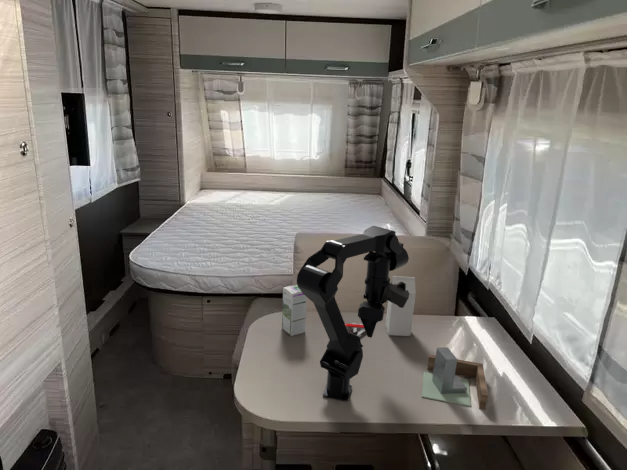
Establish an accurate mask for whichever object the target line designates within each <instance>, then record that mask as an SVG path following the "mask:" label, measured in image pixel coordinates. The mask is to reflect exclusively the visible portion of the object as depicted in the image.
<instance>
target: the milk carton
mask: <svg viewBox="0 0 627 470" xmlns="http://www.w3.org/2000/svg"><path fill="white" fill-rule="evenodd" d="M399 282H403V283H405V284H406V291H407V290H408V292H409V298H408V300H407V302H406V304H405V305H404V307H403V308H400V307H398V305H396V304H394V303H392V302H390V301H387V307H386V315H385V323H384V326H385V329H386V333H387V335H388V336H398V337H411V333H412V325H413V317H414V312H415V311H414V309H415V301H416V294H417V293H416V292H417V291H416V277H415V276H403V275H402V276H401V275H400V276H399V275H392V279H391V280H390V283H391V284H393V285H394V284H398V283H399Z"/></svg>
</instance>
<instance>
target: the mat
mask: <svg viewBox="0 0 627 470" xmlns="http://www.w3.org/2000/svg"><path fill="white" fill-rule="evenodd" d="M432 377H433V372H426V371H423V375H422V387H421V388H422V389H421V392H422V393H421V398H425V399H429V400H433V401H438V402H439V401H440V402H446V403H450V404H455V405H460V406H466V407H471V406H472V404H471V403H472V402H471V395H470V394H471V393H470V383H469V379H466V378H460V379H461V381H462V382H463V383H464V385H465V386H466V387H467V392H466V393H454V394H441V393H440V392H439V390H438V389H437V387H436V386H435V384H434V383H433V381H432Z"/></svg>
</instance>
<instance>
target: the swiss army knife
mask: <svg viewBox="0 0 627 470" xmlns="http://www.w3.org/2000/svg"><path fill="white" fill-rule="evenodd" d="M344 323H345V322H344ZM345 326H346V328H347V331H348V332H352V333H353V334H354V333H357V334H356V335H357V336H359V337H360V335H361V334H363V333H366V331H365V329H364V326H363V324H362V323H359V324H358V323H357V322H352V323H345Z"/></svg>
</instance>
